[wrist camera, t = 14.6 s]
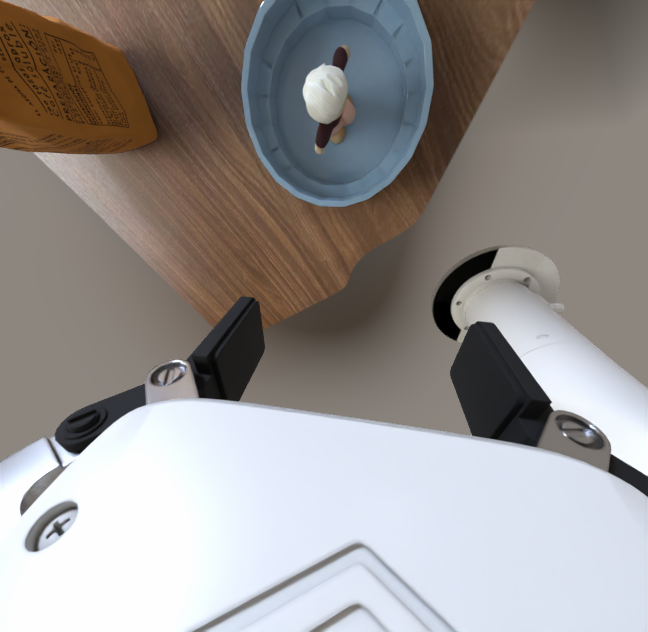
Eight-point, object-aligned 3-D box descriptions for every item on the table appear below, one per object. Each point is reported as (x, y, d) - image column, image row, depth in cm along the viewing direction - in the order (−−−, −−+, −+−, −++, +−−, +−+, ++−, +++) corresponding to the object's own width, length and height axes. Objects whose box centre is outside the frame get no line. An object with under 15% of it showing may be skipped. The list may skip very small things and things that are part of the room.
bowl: (438, -13, 22) (461, -58, 17) (402, 199, 32) (410, 209, 27) (251, -3, 24) (223, -42, 19) (271, 195, 33) (256, 204, 29)
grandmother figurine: (350, 156, 29) (344, 162, 19) (318, 151, 30) (295, 155, 19) (363, 65, 25) (365, 9, 15) (325, 61, 25) (301, 2, 15)
